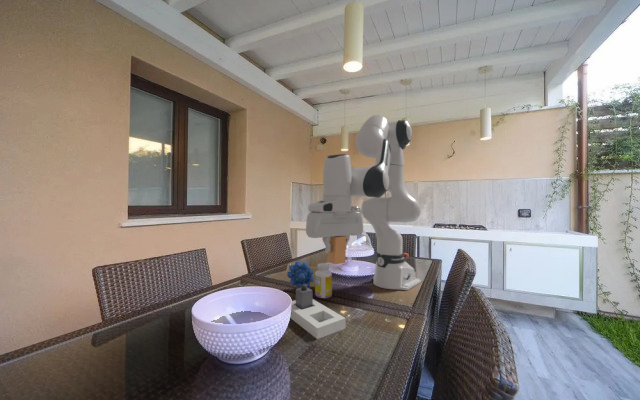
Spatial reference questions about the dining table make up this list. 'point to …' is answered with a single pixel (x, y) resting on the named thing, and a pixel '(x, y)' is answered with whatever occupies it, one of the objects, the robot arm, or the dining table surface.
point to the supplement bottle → (323, 281)
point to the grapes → (300, 274)
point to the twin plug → (304, 297)
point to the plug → (337, 250)
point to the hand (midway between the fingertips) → (336, 250)
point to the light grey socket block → (318, 319)
